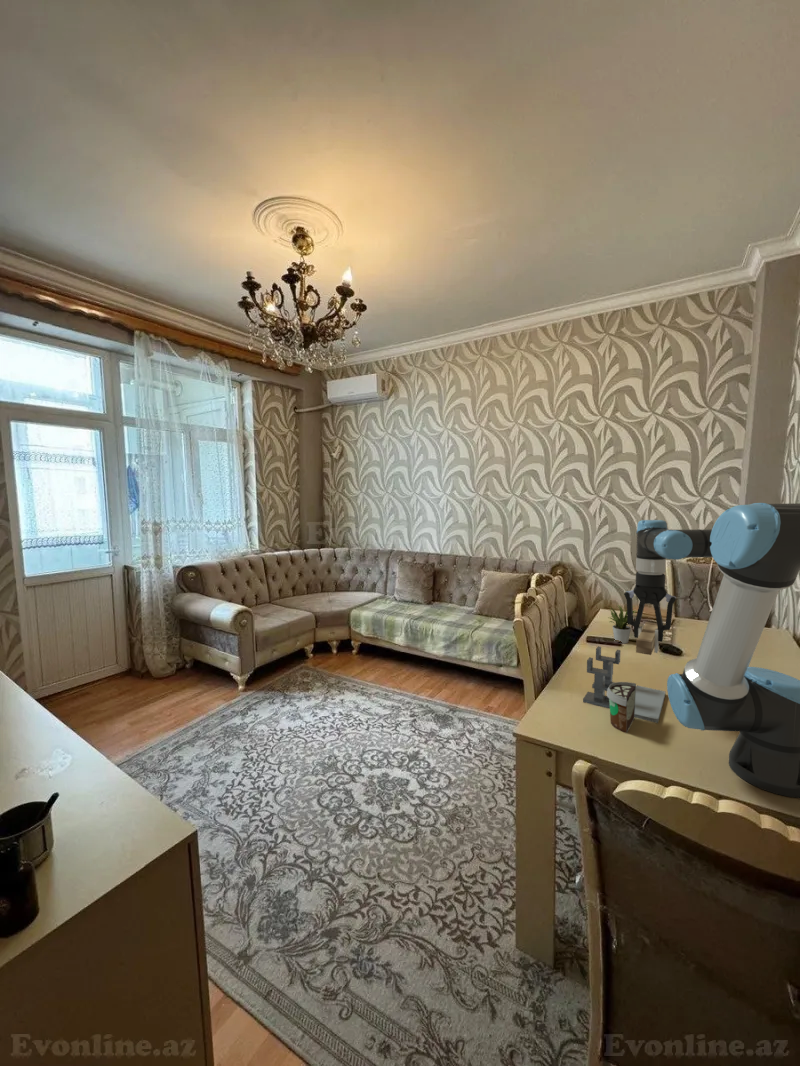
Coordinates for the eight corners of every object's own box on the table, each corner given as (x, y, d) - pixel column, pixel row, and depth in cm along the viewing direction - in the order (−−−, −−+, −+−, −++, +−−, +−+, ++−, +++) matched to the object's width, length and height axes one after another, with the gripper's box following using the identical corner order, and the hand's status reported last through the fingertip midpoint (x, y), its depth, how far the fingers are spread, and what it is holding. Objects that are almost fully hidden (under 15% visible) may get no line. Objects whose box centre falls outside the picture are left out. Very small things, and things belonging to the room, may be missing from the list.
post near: (615, 701, 133) (616, 660, 132) (611, 709, 128) (612, 667, 127) (587, 694, 138) (588, 655, 137) (583, 701, 133) (583, 661, 132)
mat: (657, 723, 120) (658, 719, 120) (625, 715, 125) (625, 711, 125) (665, 694, 137) (665, 691, 137) (636, 688, 142) (636, 685, 142)
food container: (612, 710, 128) (612, 677, 127) (635, 716, 124) (636, 682, 123) (600, 728, 118) (601, 692, 117) (625, 735, 114) (626, 699, 113)
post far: (622, 687, 143) (623, 649, 142) (619, 693, 138) (620, 654, 137) (596, 681, 148) (597, 644, 147) (592, 687, 143) (592, 649, 142)
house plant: (644, 639, 188) (645, 602, 187) (642, 649, 177) (643, 609, 175) (608, 634, 196) (609, 598, 195) (604, 643, 184) (605, 605, 183)
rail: (659, 635, 137) (659, 623, 136) (651, 655, 120) (651, 642, 120) (645, 633, 139) (646, 622, 138) (636, 652, 122) (636, 639, 122)
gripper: (685, 573, 126) (682, 651, 128) (621, 568, 136) (619, 641, 138) (683, 577, 120) (680, 659, 122) (616, 571, 129) (614, 648, 132)
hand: (647, 649), depth 130 cm, fingers closed on rail, 4 cm apart
